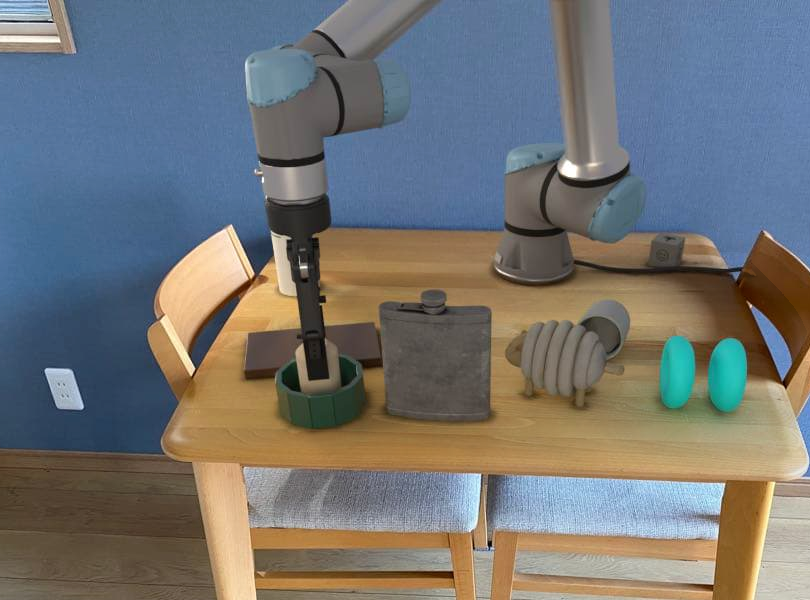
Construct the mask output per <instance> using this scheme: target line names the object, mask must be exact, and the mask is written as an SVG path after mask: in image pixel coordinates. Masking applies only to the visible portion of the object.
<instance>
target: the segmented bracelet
mask: <svg viewBox="0 0 810 600" xmlns="http://www.w3.org/2000/svg"><path fill="white" fill-rule="evenodd" d="M338 359H339V368H340V377H341V386H342V388H340V389H337V390H335V391H332V392H327V393H317V394H306V393H301V388H300V381H299V374H298V367H297V361H296V359H293V360H290V361H288V362H287V363H286V364H284V365H283V366H282V367H281V368H280V369H279V370H278V371H277V372H276V376H275V381H274V382H275V390H276V395H277V403H278V407H279V414H280V416H281V417H283V419H285V420H286V421H288V423H289V424H291V425H293V426H297V427H302V428H305V429H311V430H315V429H324V428H335V427H339V426H341V425H343V424H346V423H348V422H350V421H352V420H354V419H356V418H357V417H358V416H359V415H360V414H361V413H362V411H363V410H364V409H365V408H366V406H367V401H366V390H365V389H366V388H365V380H364V372H363V368H362V364H361V363H359V362H358V361H356V360H355V359H353V358H352V357H350V356H348V355H343V354H338Z"/></svg>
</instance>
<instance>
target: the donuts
mask: <svg viewBox="0 0 810 600" xmlns="http://www.w3.org/2000/svg"><path fill="white" fill-rule="evenodd" d="M746 353H747V352H746V349H745V347H744V345H743V344H742V342H741V341H740V340H739V339H737V338H733V337H728V338H724V339H722V340H721V341H720V342H719V343H718V344H717V345H715V347H714V349H713V351H712V354H711V356H710V360H709V364H708V372H707V387H708V388H707V389H708V394H709V398H710V400H711V403H712V404H713V406H714V407H715V408H716V409H718V410H719V411H721V412H724V413H729V412H732V411H734V410H736V409H737V408H738V407H739V406H740V404H741V402H742V400H743V397H744V394H745V391H746V390H745V389H746V385H747V378H748V377H747V376H748V359H747V354H746ZM659 370H660V371H659V392H660V398H661V401H662V403H663V404H664V405H665V406H666V407H667V408H669V409H672V410H673V409H674V410H675V409H679V408H681V407H683V406H684V405H685V404H686V403H687V402H688V401H689V399H690V397H691V395H692V392H693V389H694V385H695V384H694V383H695V376H696V356H695V352H694V348H693V346H692V344H691V342H690V341H689V340H688V339H687V337H684V336H682V335H672V336H671V337H669V338H668V339H667V340H666V342H665V343H664V347H663V350H662V354H661V361H660V369H659Z"/></svg>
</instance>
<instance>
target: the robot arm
mask: <svg viewBox="0 0 810 600" xmlns="http://www.w3.org/2000/svg"><path fill="white" fill-rule="evenodd" d="M443 1H444V0H347V1H346V2H345V3H344V4H343V5H341V6H340V7H339V8H338V9H336V10H335V11H334V12H333V13H332V14H330V15H329V16H328V17H326V19H325V20H324V21H322V22H321V23H320V24H319V25H317V26H316V27H315V28H314V29H313V30H312V31H310V32H308V34H307V35H305V36H304V37H303V38H302V39H300V40H299V41H298V42H297V43H296V44H290V43H289V44H283V45H281V44H280V45H276V46H274V47H272V48H270V49H265V50H259V51H255V52H253V53H251V54H250V55H248V57H247V58H246V59H245V65H244V68H245V69H244V70H245V84H246V101H247V103H248V105H249V111H250V116H251V123H252V128H253V134H254V141H255V147H256V152H257V160H258V166H259V167H258V168H254V172H253V173H254V176H256V177H257V178H261V185H262V192H263V195H264V196H265V195H266V196H267V198H266V196H265V200H264V209H265V215H266V216H265V217H266V222H267V227H268V229H269V231H270V232H271V231H272V232H273V233H275V234H278V235H281V236H283V235H285V236H288V237H290V238H291V239H286V244H287V247H286V252H287V259H288V261H289V262H290V268H291V276H292V281H293V282H294V283H295V285H296V293H297V296H296V298H297V307H298V308H297V309H298V315H299V322H300V328H301V331H302V332H301V333H300V334H297V339H302V340H303V346H304V353H305V360H306V368H307V375H308V381H314V380H324V379H329V370H328V361H327V353H326V345H325V338H326V334H325V326H326V325H325V318H324V310H323V304H327V296H326V294H325V295H324V294H323V295H321V294H320V293H321V286H320V280H321V269H320V267H321V266H320V258H321V249H320V247H321V246H320V240H319V237H318V236H316V237H315V236H314V238H313V235H316V234H321V233H324V232H325V231H327V230H328V229H329V228H330V227H331V225H332V213H331V203H330V197H329V195H327V192H328V191H329V180H328V170H327V169H328V168H327V160H326V155H325V144H324V138H330V137H335V136H341V135H346V134H352V133H356V132H357V133H358V132H361V131H363V132H364V131H369V130H373V129H378V130H381V129H383V128H385V127H388V126H391V125H394V124H398V123H400V122H401V121H403V120H404V119H405V118H406V116H407V115H408V114H409V110H410V107H411V104H412V103H411V102H412V99H411V85H410V81H409V78H408V76H407V73H406V71H405V70H404V68H403V67H402V65H401V64H400V63H399V62H398V61H396V60H395V59H393V58H389V57H388V58H386V57H385V58H379V57H380V56H381V55H382V54H383V53H385V52H386V51H387V50H388V49H389V48H390V47H392V45H394V44H395V43H396V42H397V41H398V40H399V39H401V38H402V37H403V36H404V35H405V34H406V33H407V32H408V31H410V30H411V29H412V28H413V27H414V26H416V25H417V24H418V23H419V22H420V21H421V20H422V19H424V18H425V16H427V15H428V14H429V13H431V11H433V10H434V9H435V8H436V7H438V5H440V4H441V3H442V2H443ZM546 3H547V11H548V19H549V29H550V37H551V38H550V39H551V45H552V46H551V47H552V53H553V62H554V71H555V80H556V87H557V89H556V90H557V97H558V106H559V115H560V122H561V130H562V131H561V132H562V140H563V142H539V143H532V144H531V143H530V144H525V145H521V146H517V147H515V148H513V149H511V150H510V151H509V152H508V154H507V156H506V160H505V161H506V162H505V171H504V225H503V232H502V235H501V238H500V241H499V243H498V246H497V248H496V252H495V254H494V259H493V271H494V273H495V274H496V275H497V276H498V277H500V278H501V279H503V280H505V281H508V282H512V283H514V284H519V285H527V286H545V285H547V286H548V285H552V284H558V283H561V282H564V281H566V280H567V279H569V278H570V277H572V276H573V274H574V271H575V270H574V269H575V265H576V266H581V267H586V268H590V269H595V270H599V271H603V272H612V273H622V274H623V273H627V274H651V273H652V274H654V273H667V272H677V271H680V272H681V271H682V272H683V271H684V272H685V271H686V272H688V271H689V272H705V273H718V274H731V273H732V274H733V273H739V272H742V269H743V267H744V266H736V267H731V268H730V267H729V268H721V267H720V268H719V267H706V266H693V265H692V266H690V265H684V266H683V265H678V266H674V267H662V268H659V267H650V268H649V267H648V268H647V267H646V268H637V267H636V268H628V267H614V266H613V267H612V266H607V265H600V264H595V263H591V262H588V261H582V260H578V259H574V255H573V251H572V247H571V243H570V239H569V234H568V232H570V233H573V234H575V235H578V236H581V237H584V238H587V239H588V240H590V241H592V242H595V241H597V242H601V243H603V244H615V243H618V242H619V241H622V240H623V239H625V238H626V237H627V236H628V235H630V233H632V231H633V229H634V228H635V227H636V225H637V224H638V221H639V220H640V218H641V216H642V214H643V211H644V209H645V206H646V200H647V192H648V191H647V185H646V183H645V181H644V179H642V178H641V177H640V176H639V175H637V174H633V173H631V162H630V154H629V151H627V149H625V148H624V147H623V146H621V145H620V142H619V140H620V139H619V127H618V126H619V125H618V112H617V109H618V108H617V95H616V80H615V67H614V66H615V65H614V64H615V63H614V48H613V35H612V34H613V33H612V32H613V31H612V19H611V4H610V3H611V2H610V0H546ZM318 281H319V282H318ZM319 286H320V287H319Z"/></svg>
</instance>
